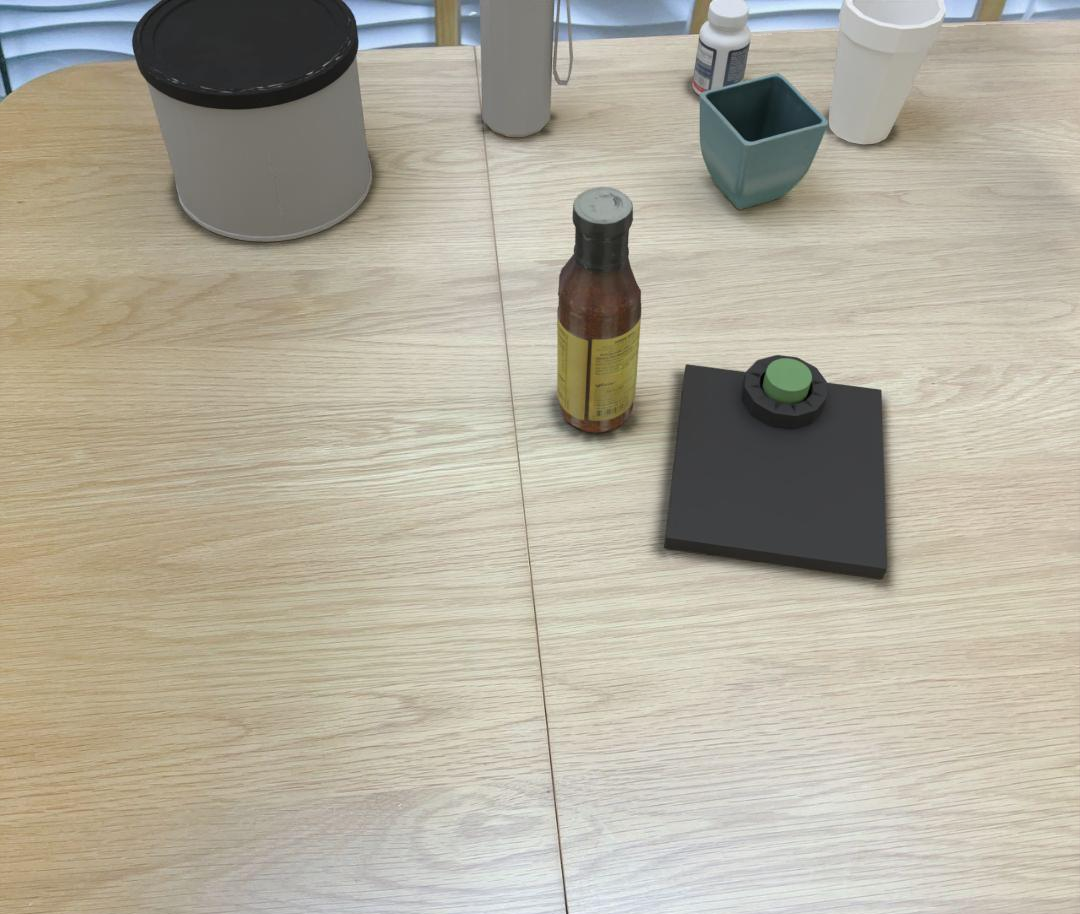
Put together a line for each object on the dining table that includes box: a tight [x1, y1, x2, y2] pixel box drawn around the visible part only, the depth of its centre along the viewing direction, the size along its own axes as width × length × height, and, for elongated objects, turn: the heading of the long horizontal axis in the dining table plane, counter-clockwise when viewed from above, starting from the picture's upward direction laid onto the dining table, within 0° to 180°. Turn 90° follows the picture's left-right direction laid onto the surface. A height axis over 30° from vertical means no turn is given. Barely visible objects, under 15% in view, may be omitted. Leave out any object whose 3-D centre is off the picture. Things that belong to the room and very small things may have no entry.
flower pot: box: [699, 72, 829, 210], centre depth 102 cm, size 9×9×9 cm
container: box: [131, 0, 373, 243], centre depth 99 cm, size 19×19×15 cm
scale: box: [663, 354, 888, 580], centre depth 84 cm, size 16×19×3 cm
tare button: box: [763, 358, 812, 404], centre depth 86 cm, size 4×4×2 cm
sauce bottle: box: [556, 186, 642, 434], centre depth 81 cm, size 6×6×20 cm
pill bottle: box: [692, 0, 752, 96], centre depth 113 cm, size 5×5×9 cm
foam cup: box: [828, 0, 947, 145], centre depth 108 cm, size 10×9×13 cm
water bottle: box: [479, 0, 574, 138], centre depth 102 cm, size 9×8×25 cm
